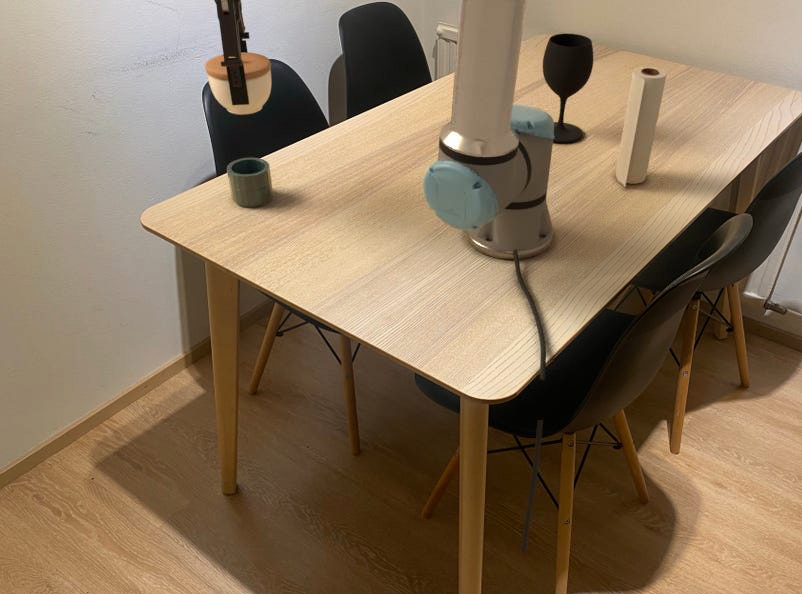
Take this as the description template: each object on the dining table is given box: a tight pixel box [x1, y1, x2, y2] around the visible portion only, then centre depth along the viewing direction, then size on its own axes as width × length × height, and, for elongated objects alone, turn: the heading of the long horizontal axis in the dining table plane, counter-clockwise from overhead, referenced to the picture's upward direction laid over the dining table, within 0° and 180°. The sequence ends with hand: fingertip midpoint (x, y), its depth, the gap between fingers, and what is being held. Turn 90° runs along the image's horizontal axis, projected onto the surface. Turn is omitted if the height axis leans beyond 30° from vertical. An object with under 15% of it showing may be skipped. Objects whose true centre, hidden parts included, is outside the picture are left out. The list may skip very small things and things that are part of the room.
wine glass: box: [542, 33, 594, 144], centre depth 164 cm, size 10×10×20 cm
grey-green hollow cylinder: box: [226, 157, 274, 208], centre depth 143 cm, size 8×8×6 cm
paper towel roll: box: [615, 66, 667, 188], centre depth 148 cm, size 7×6×21 cm
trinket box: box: [204, 52, 273, 116], centre depth 131 cm, size 11×11×9 cm
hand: (242, 91), depth 132 cm, fingers closed on trinket box, 11 cm apart
